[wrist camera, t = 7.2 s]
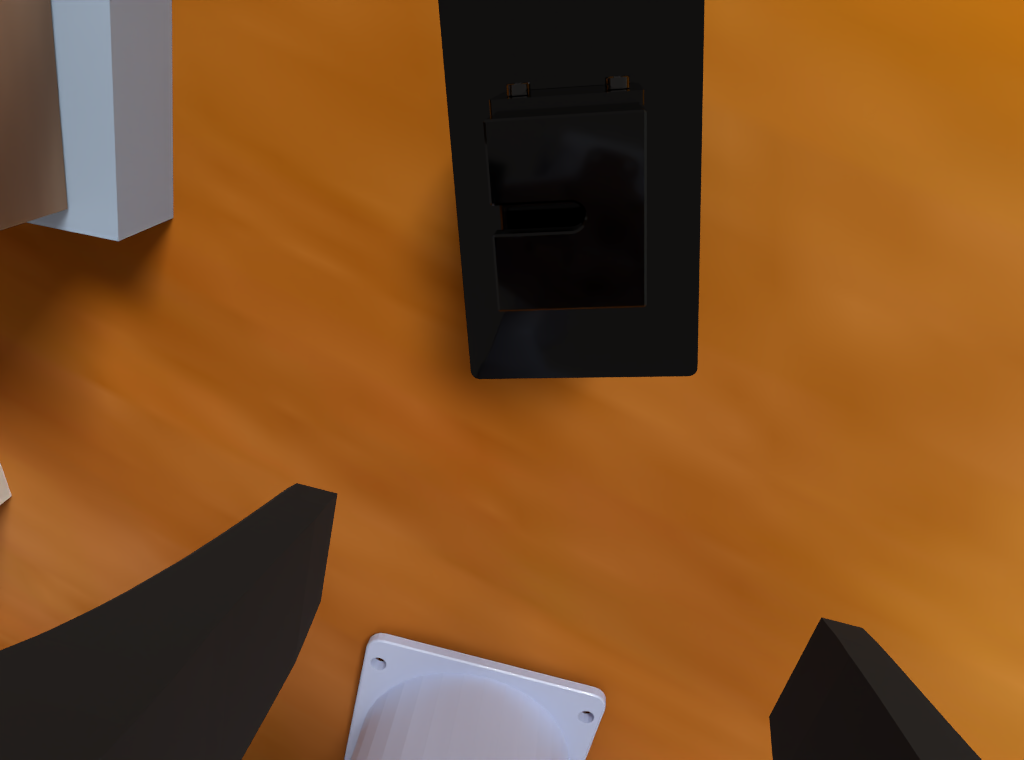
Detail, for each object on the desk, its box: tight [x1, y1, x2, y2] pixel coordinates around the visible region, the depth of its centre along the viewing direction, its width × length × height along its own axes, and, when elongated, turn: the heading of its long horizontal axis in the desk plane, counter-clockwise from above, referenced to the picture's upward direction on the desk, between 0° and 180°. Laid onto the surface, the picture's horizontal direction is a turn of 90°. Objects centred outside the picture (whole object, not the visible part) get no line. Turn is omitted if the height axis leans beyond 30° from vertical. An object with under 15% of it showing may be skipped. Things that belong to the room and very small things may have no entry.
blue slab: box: [27, 0, 173, 241], centre depth 18 cm, size 7×7×3 cm
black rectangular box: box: [438, 0, 704, 379], centre depth 17 cm, size 13×8×5 cm, turn 4°
